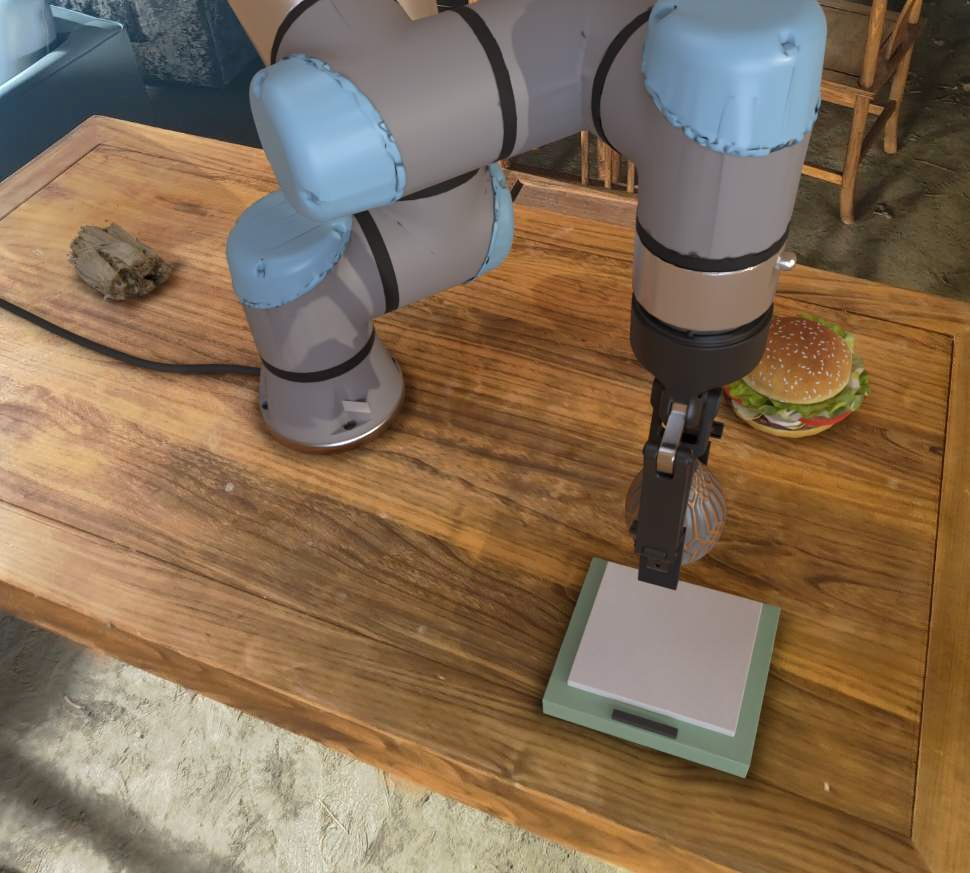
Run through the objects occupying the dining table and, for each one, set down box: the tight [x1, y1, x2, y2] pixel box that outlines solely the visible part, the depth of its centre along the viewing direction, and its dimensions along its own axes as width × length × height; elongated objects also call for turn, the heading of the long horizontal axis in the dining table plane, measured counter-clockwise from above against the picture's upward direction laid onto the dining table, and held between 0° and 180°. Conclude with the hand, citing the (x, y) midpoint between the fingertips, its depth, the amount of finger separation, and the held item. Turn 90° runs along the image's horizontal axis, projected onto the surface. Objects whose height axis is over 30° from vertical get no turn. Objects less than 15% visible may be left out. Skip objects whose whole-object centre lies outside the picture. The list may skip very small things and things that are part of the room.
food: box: [723, 313, 871, 439], centre depth 91 cm, size 14×14×8 cm
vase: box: [624, 458, 728, 566], centre depth 64 cm, size 7×7×9 cm
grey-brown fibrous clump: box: [65, 219, 175, 304], centre depth 113 cm, size 14×10×5 cm, turn 47°
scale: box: [541, 556, 782, 779], centre depth 75 cm, size 16×14×3 cm
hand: (670, 537), depth 67 cm, fingers closed on vase, 7 cm apart
